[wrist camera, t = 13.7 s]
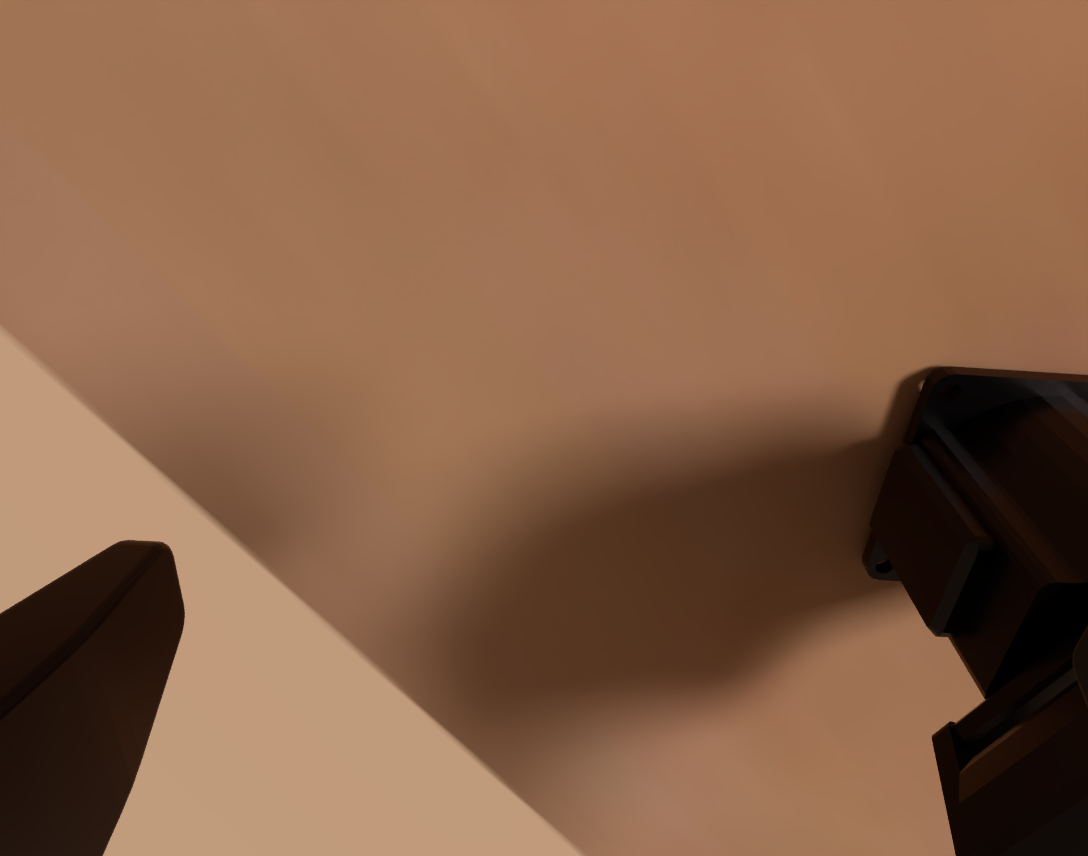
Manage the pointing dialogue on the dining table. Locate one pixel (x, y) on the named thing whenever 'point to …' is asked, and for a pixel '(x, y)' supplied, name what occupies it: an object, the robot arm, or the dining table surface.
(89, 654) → the robot arm
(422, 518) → the dining table surface
